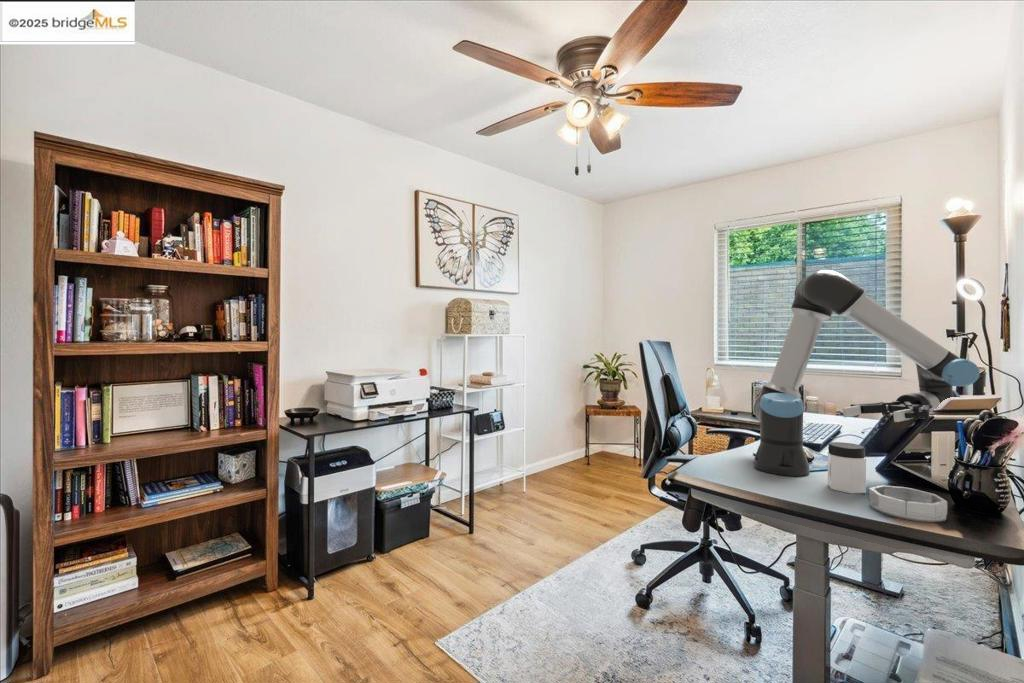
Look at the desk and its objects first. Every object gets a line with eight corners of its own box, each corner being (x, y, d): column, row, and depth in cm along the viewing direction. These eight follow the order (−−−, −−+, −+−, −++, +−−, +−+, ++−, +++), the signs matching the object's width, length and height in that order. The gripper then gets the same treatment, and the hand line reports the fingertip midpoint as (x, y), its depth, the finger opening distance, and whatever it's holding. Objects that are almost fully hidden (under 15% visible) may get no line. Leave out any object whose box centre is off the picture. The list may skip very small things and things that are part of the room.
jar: (848, 483, 132) (849, 441, 132) (874, 493, 124) (874, 448, 124) (819, 484, 131) (819, 442, 131) (842, 494, 123) (843, 449, 123)
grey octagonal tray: (858, 506, 114) (858, 490, 114) (888, 498, 120) (888, 482, 120) (928, 526, 102) (928, 508, 102) (958, 516, 108) (958, 499, 108)
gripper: (970, 422, 127) (921, 433, 120) (873, 414, 151) (827, 423, 143) (967, 395, 127) (917, 404, 120) (871, 391, 151) (824, 399, 144)
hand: (868, 414), depth 132 cm, fingers open, 13 cm apart
